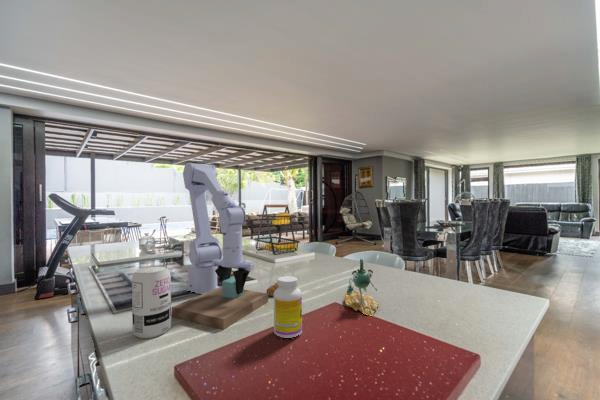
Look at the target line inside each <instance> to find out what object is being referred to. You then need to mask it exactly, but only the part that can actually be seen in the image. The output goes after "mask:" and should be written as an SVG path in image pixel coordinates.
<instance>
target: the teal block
mask: <svg viewBox="0 0 600 400" xmlns="http://www.w3.org/2000/svg"><path fill="white" fill-rule="evenodd" d="M221 286H222V297H226V298H231V299H236V298H238V297H239V296H241V295H243V294H244V290H245V289H243V293H241V294H237V292H236V281H235V277H230V278H229V279H227V280H224V281H222V284H221Z"/></svg>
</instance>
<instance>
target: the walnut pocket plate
mask: <svg viewBox="0 0 600 400" xmlns="http://www.w3.org/2000/svg"><path fill="white" fill-rule="evenodd" d="M267 303H269V295H268V294H267V293H266V292H261V291H255V290H248V289H244V294H243V295H241V296H239V297H238V298H236V299H231V298H226V297H222V285H221V286H220V287H219V288H216V289H214V290H211V291H209V292H207V293H204V294H199V295H197V296H195V297H193V298H190V299H188V300H186V301H183V302H181V303H179V304H177V305H174V306H171V318H172V317H173V318H177V319H181V320H184V321H187V322H188V321H189V322H193V323H197V324H200V325H205V326H209V327H213V328H217V329H220V330H225V329H227V328H228V327H230V326H232V325H233V324H235V323H238V322H239V321H240V320H242V319H243V318H245V317H246V316H248V315H250V314H251V313H253V312H254V311H256V310H258V309H259V308H261V307H263V306H264V305H265V304H267Z"/></svg>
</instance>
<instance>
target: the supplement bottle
mask: <svg viewBox="0 0 600 400" xmlns="http://www.w3.org/2000/svg"><path fill="white" fill-rule="evenodd" d="M277 282H278V286H279V288H278V289H276V290H275V292H274V297H273V333H274V335H275V334H276V335H277V336H280V337H284V338H292V337H296V336H298V335H299V336H301V335H302V333H303V299H302V298H303V297H302V296H303V293H302V290H301V289H300V288H298V287H297V286H298V283H299V280H298V278H297V276H293V275H291V276H290V275H287V276H280V277H278V278H277ZM276 335H275V336H276ZM277 336H276V337H277ZM299 336H298V337H299ZM296 338H297V337H296ZM292 339H293V338H292Z"/></svg>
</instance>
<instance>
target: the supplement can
mask: <svg viewBox="0 0 600 400" xmlns="http://www.w3.org/2000/svg"><path fill="white" fill-rule="evenodd" d="M171 279H172V278H171V272H170V270H169V269H168V266H166V265H150V266H143V267H139V268H137V269H135V270H134V273H133V274H132V277H131V298H132V299H131V307H132V309H131V310H132V311H131V312H132V334H133V335H134V336H135V337H137V338H139V339H153V338H156V337H159V336H162V335H164V334H165V333H167V332H168V331H169V329H171V327H172V282H171V281H172V280H171Z"/></svg>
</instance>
